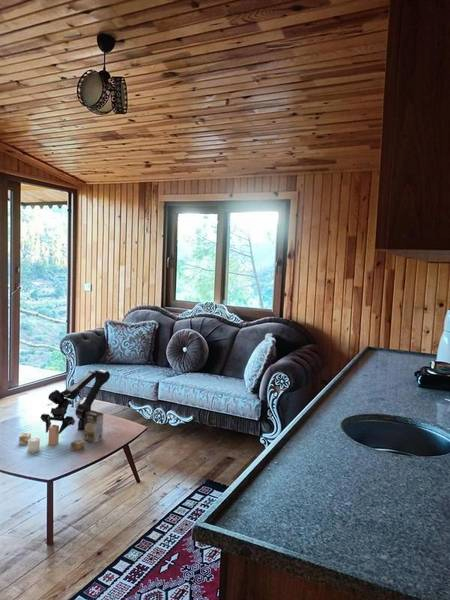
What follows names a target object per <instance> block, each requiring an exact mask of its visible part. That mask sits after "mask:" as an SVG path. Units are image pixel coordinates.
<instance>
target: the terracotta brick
mask: <svg viewBox="0 0 450 600" xmlns="http://www.w3.org/2000/svg"><path fill="white" fill-rule="evenodd" d="M59 430H60V425H56V424H51V426H50V427H49V430H48V445H49V446H56V445H57V444H58V443H59V438H60V437H59V435H60V434H59Z"/></svg>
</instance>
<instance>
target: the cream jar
mask: <svg viewBox="0 0 450 600" xmlns="http://www.w3.org/2000/svg"><path fill="white" fill-rule="evenodd" d="M40 442H41V440H40V438H39V437H31V439H29V440H28V444H27V452H28V453H30V454H35V453H38V452H39V451H40V445H41V444H40Z"/></svg>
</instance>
